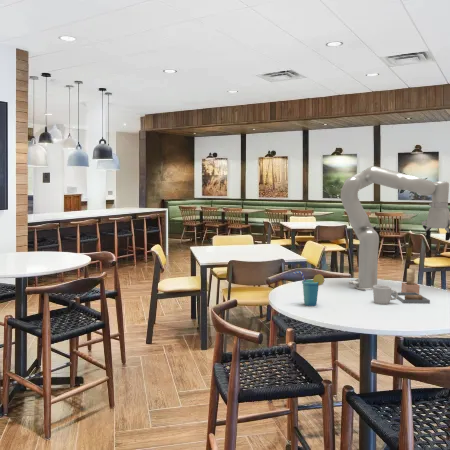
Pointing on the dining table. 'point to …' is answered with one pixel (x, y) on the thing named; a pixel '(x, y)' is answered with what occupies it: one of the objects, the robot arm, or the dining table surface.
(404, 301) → the tray
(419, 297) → the walnut dowel
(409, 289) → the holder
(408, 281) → the oak dowel
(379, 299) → the cup
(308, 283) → the cup
